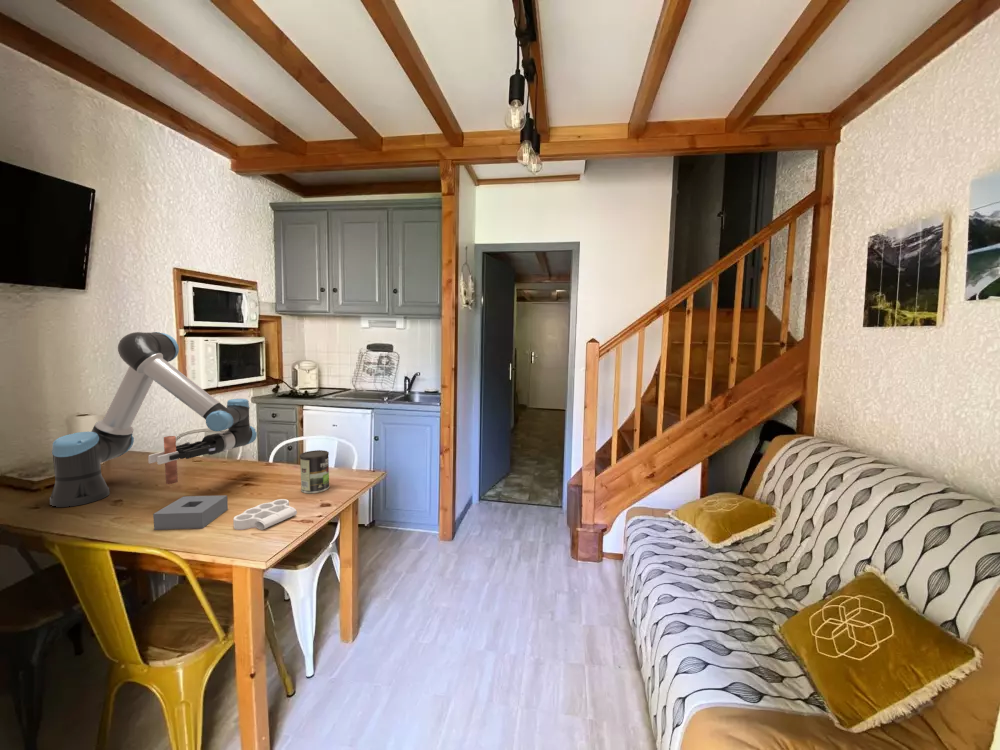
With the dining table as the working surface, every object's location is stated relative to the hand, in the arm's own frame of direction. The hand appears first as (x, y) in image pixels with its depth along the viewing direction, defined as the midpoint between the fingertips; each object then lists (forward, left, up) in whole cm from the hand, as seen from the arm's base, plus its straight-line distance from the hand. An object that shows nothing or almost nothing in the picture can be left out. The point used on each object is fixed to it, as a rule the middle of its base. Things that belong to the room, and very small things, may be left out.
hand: (153, 459), depth 137 cm
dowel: (+2, +5, -10) cm, 11 cm away
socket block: (+15, -6, -18) cm, 24 cm away
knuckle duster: (+38, -7, -19) cm, 43 cm away
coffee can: (+45, +19, -18) cm, 52 cm away
